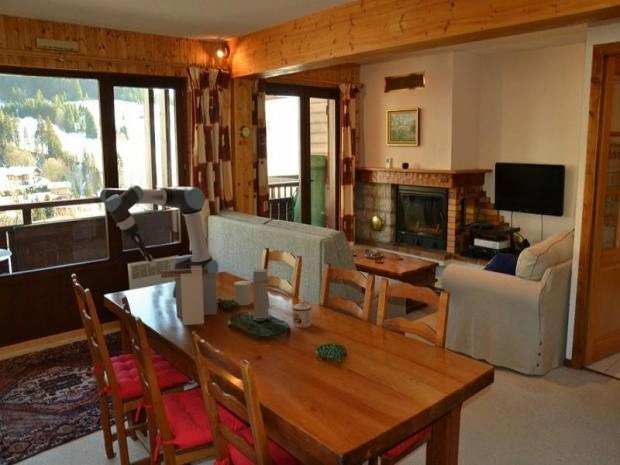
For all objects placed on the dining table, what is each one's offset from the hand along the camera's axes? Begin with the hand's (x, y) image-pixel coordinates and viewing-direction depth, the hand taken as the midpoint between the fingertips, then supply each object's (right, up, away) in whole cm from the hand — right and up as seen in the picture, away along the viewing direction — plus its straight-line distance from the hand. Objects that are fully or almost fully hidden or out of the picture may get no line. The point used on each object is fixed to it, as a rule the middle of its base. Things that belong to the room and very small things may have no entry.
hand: (150, 261), depth 262 cm
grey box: (+20, -28, +13) cm, 36 cm away
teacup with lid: (+75, -30, -7) cm, 81 cm away
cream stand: (+21, -29, +1) cm, 36 cm away
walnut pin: (+18, -7, -3) cm, 19 cm away
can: (+41, -25, +32) cm, 58 cm away
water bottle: (+54, -29, +2) cm, 62 cm away
